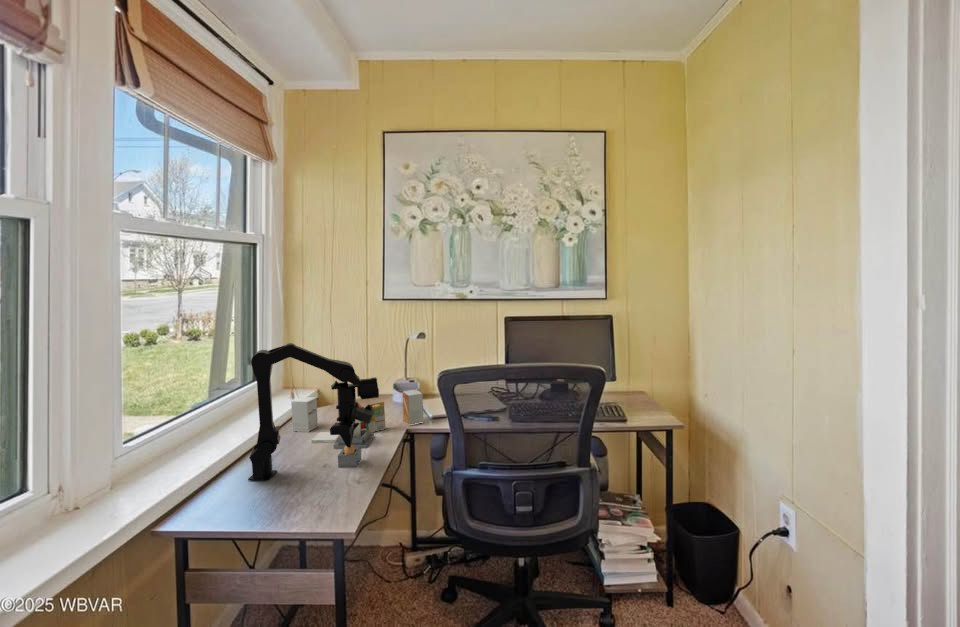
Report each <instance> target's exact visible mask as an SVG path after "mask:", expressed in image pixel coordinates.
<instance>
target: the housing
mask: <svg viewBox="0 0 960 627" xmlns="http://www.w3.org/2000/svg"><path fill="white" fill-rule="evenodd" d="M373 437H375V433H370V431H369V430H366V429H361V437H353V439H352V444H351V445H354V448H361V449H367V448H368V447H369V445H370V444H371V442H372V441H373V440H374V438H373ZM371 440H372V441H371ZM369 443H370V444H369ZM332 446H333V449H334V450H335V449H336V450H337V449H338V448H340V449H344V447H345V446H346V444H345V443H344V441H343V439H342V437H341V436H339V437H338V440H337V441H336V442H334V444H333V445H332ZM367 446H368V447H367Z"/></svg>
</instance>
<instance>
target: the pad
mask: <svg viewBox="0 0 960 627" xmlns="http://www.w3.org/2000/svg"><path fill="white" fill-rule="evenodd" d="M339 436H340V435H330V431H325V432H324V431H320V432H318V433H317V434H316V435H315V436H314V437H313V438H312V439H311V440H310V441H311V443H312V444H313V443H314V444H315V443H316V444H318V443H319V444H321V443H336V442H337V441H338V437H339Z"/></svg>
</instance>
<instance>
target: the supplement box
mask: <svg viewBox="0 0 960 627" xmlns="http://www.w3.org/2000/svg"><path fill="white" fill-rule="evenodd" d="M290 404H291V420H292V432H295V431H297V432H299V433H309V432H311V431H312V430H314V429H316V428H318V426H319V422H318V401H317V397H315V396H314V397H311V396H307V397H306V396H300V397H298V398H297V399H295V400H292V401H291V403H290Z"/></svg>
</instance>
